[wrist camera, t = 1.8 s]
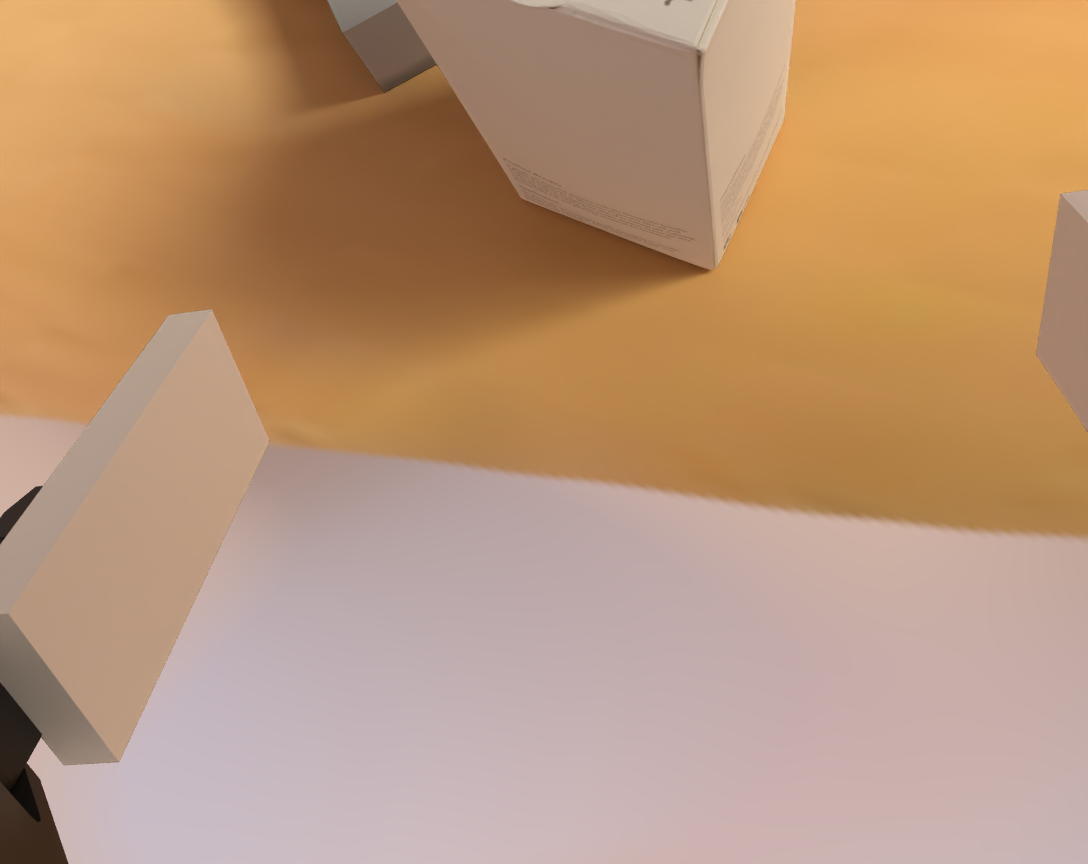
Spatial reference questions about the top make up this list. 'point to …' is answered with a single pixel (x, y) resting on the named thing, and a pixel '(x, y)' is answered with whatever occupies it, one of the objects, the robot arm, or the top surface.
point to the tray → (382, 39)
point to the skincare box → (623, 106)
